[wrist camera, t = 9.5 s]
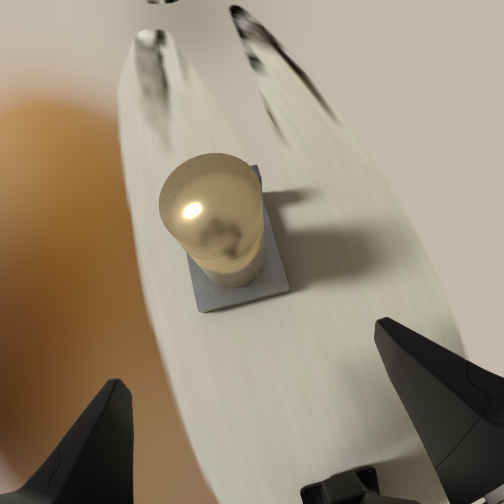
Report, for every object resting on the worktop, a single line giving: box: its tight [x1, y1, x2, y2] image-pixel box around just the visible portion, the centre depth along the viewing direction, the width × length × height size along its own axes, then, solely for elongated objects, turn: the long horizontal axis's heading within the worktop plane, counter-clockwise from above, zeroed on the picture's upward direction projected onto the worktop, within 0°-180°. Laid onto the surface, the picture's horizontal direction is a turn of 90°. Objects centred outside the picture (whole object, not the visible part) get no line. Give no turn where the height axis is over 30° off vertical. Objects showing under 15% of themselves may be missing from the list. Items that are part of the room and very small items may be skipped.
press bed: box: [186, 165, 289, 313], centre depth 22 cm, size 9×7×4 cm
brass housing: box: [159, 153, 265, 288], centre depth 18 cm, size 5×5×10 cm
